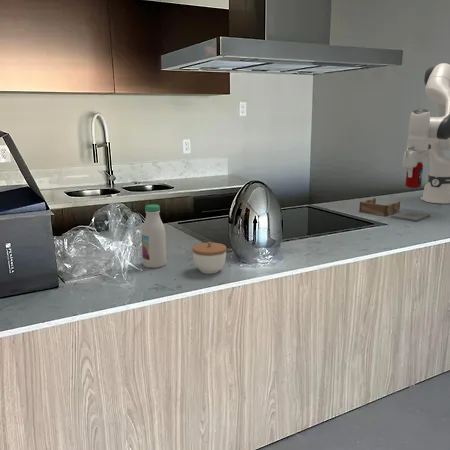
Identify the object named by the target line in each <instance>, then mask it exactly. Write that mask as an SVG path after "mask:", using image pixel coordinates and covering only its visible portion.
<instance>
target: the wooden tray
mask: <svg viewBox="0 0 450 450" xmlns="http://www.w3.org/2000/svg"><path fill="white" fill-rule="evenodd" d="M376 201H377V198H374V197H373V198H370V199H366V200H363V201H359V209H358V211H359V213H364V214H370V215H376V216H381V217H389V216H392V215H394V214H397V213H400V211H401V210H400V209H401V208H400V207H401V201H396V202H392V203H390V204H387V205H385V204H378V203H377V202H376Z"/></svg>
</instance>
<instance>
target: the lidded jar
mask: <svg viewBox="0 0 450 450" xmlns="http://www.w3.org/2000/svg"><path fill="white" fill-rule="evenodd" d="M191 250H192V258H193V262H194V265H195V267H196V268H197V269H198V270H199V271H200V272H201V273H203V274H205V275H207V274H209V275H210V274H217V273H218V272H220V270H222V268H223V267H224V266H225V263H226V260H227V259H226V258H227V246H226V245H225V244H224V243H223V244H222V243H219V242H211V241H207V242H201V243H197V244H195V245H193V246H192V249H191Z"/></svg>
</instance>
